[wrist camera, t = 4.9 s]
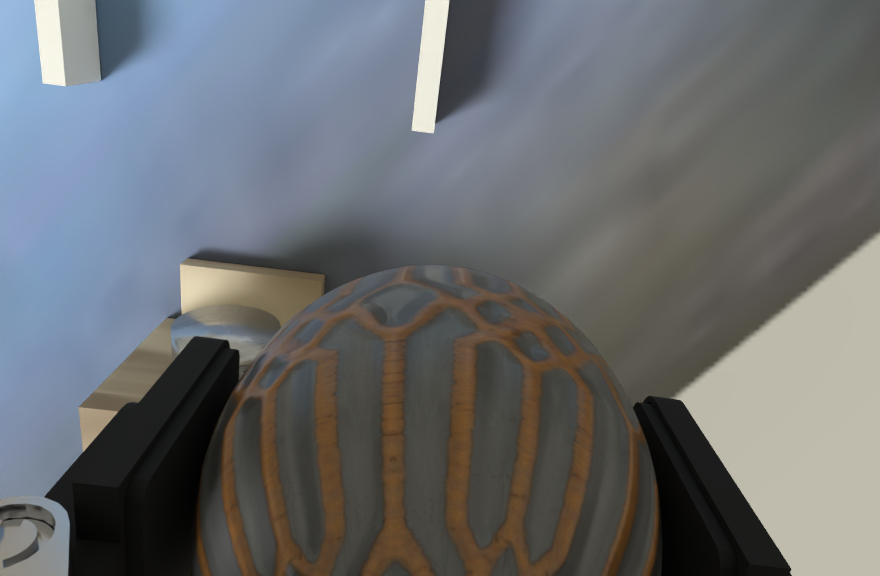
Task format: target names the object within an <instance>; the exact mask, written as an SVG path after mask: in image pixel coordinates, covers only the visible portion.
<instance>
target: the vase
mask: <svg viewBox="0 0 880 576" xmlns="http://www.w3.org/2000/svg"><path fill="white" fill-rule="evenodd" d="M661 570H662V523H661V509H660V501H659V493H658V486H657V481H656V475H655V471H654V467H653V463H652V459H651V455H650V451H649V448H648V444H647V441H646V438H645V436H644V433H643V431H642V428H641V426H640V423H639V421H638V419H637V416H636V414H635V411H634V409H633V407H632V405H631V403H630V401H629V399H628V397H627V395H626V394H625V392H624V390H623V388H622V387H621V385H620V383H619V381H618V380H617V378H616V377H615V375H614V373H613V372H612V370H611V368H610V367H609V366H608V364H607V363H606V362H605V360H604V359H603V357H602V356H601V355H600V353H599V352H598V351H597V349H596V348H595V347H594V345H593V344H592V343H591V341H590V340H589V339H588V338H587V337H586V336H585V335H584V334H583V333H582V331H581V330H579V329H578V328H577V327H576V326H575V325H574V324H573V323H572V322H571V321H570V320H569V319H567V318H566V317H565V316H564V315H562V314H561V313H560V312H559V311H557V310H556V309H555V308H554V307H552V306H551V305H550V304H548V303H547V302H545V301H544V300H542V299H541V298H540V297H538V296H537V295H535V294H533V293H531V292H529V291H528V290H526V289H524V288H522V287H520V286H518V285H515V284H513V283H511V282H509V281H506V280H504V279H501V278H499V277H496V276H493V275H490V274H487V273H484V272H480V271H477V270H472V269H467V268H462V267H455V266H445V265H415V266H405V267H399V268H393V269H388V270H384V271H380V272H376V273H373V274H370V275H367V276H364V277H361V278H358V279H355V280H353V281H351V282H348V283H346V284H344V285H341V286H339V287H338V288H336V289H334V290H332V291H330V292H328V293H326V294H325V295H323V296H322V297H320V298H318V299H317V300H315V301H314V302H313V303H311V304H310V305H308V306H307V307H305V308H304V309H303V310H301V311H300V312H299V313H297V314H296V315H295V316H293V317H292V318H291V319H290V320H289V321H288V322H287V323H285V324H284V325H283V326H282V327H281V328H280V329H279V330H278V331H277V332H276V334H275V335H274V336H273V337H272V338H271V339H270V340H269V341H268V343H267V344H266V345H265V346H264V347H263V349H262V350H261V351H260V352H259V353H258V355H257V356H256V357H255V359H254V360H253V361H252V362H251V364H250V365H249V367H248V368H247V370H246V371H245V373H244V374H243V376H242V377H241V379H240V381H239V382H238V384H237V385H236V387H235V388H234V390H233V391H232V393H231V395H230V397H229V399H228V401H227V403H226V405H225V407H224V409H223V411H222V413H221V414H220V416H219V418H218V420H217V423H216V425H215V428H214V430H213V432H212V435H211V438H210V441H209V444H208V447H207V450H206V454H205V457H204V460H203V464H202V467H201V472H200V477H199V482H198V487H197V492H196V497H195V503H194V512H193V522H192V533H191V576H661Z"/></svg>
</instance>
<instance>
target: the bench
mask: <svg viewBox="0 0 880 576" xmlns="http://www.w3.org/2000/svg"><path fill="white" fill-rule="evenodd" d="M180 275H181V309H182V314H184V313H186V312H189V311H191V310H194V309H198V308H202V307H207V306H214V305H242V306H249V307H254V308H258V309H261V310H264V311H266V312H268V313H270V314H272V315H273V316H275V317H276V318H277V319H278V320H279V322H280V325H281V327H282V326H283V325H284V324H285V323H287V322H288V321H289V320H290V319H291V318H292V317H293V316H295V315H296V314H297V313H299V312H300V311H301V310H303V309H304V308H305V307H307V306H308V305H310V304H311V303H313V302H314V301H315V300H317V299H318V298H320V297H322V296H323V295H324V284H325V275H323V274H315V273H307V272H298V271H290V270H282V269H273V268H265V267H256V266H248V265H240V264H231V263H223V262H214V261H206V260H198V259H189V258H187V259H186V260H185V261H184V262H182V263H181V264H180ZM174 320H175V319H172V318H166V319H165V320H164V321H163V322H162V323H161V324H160V325H159V326H158V327H157V328H156V329H155V330H154V331H153V332H152V333H151V334H150V335H149V336H148V337H147V338H146V339H145V340H144V341H143V342H142V343H141V344H140V345H139V346H138V347H137V348H136V349H135V350H134V351H133V353H132V354H131V355H130V356H129V357H128V358H127V359H126V360H125V361H124V362H123V363H122V364H121V365H120V366H119V367H118V368H117V369H116V370H115V371H114V372H113V373H112V374H111V375H110V376H109V377H108V378H107V379H106V380H105V381H104V382H103V383H102V384H101V385H100V386H99V387H98V388H97V389H96V390H95V391H94V392H93V393H92V394H91V395H90V396H89V397H88V398H87V399H86V400H85V401H84V402H83V403H82V404H81V405H80V406H79V416H80V425H81V435H82V445H83V452H84V451H85V449H86V448H87V447H88V446H89V445H90V444H91V443H92V441H93V440H94V439H95V438H96V437H97V436H98V435H99V433H100V432H101V431H102V430H103V429H104V428H105V426H106V425H107V424H108V423H109V422H110V421H111V420H112V418H113V417H114V416H115V415H116V414H117V413H118V411H119V410H120V409H121V408H122V407H123V406H124V405H126V404H127V403H130V402H137V403H139V402H140V400H141V399H142V398H143V397H144V396H145V394H146V393H147V392H148V391H149V390H150V388H151V387H152V386H153V385H154V384H155V382H156V381H157V380H158V379H159V378H160V376H161V375H162V374H163V373H164V372H165V370H166V369H167V368H168V367H169V366H170V364H171V363H172V362H173V361H174V359H173V357H172V352H171V325H172V323H173V322H174Z"/></svg>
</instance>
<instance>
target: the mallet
mask: <svg viewBox="0 0 880 576" xmlns="http://www.w3.org/2000/svg"><path fill="white" fill-rule="evenodd" d="M280 328H281V325H280V322H279V320H278V319H277V318H276V317H275V316H273V315H272V314H270V313H268V312H266V311H264V310H261V309H258V308H254V307H249V306H242V305H214V306H207V307H202V308H198V309H194V310H191V311H189V312H186V313H184V314H182V315H181V316H179V317H178V318H177V319H175V320H174V322H173V323H172V325H171V352H172V357H173V359H174V360H175V358H176V357H177V356H178V355H179V354H180V352H181V351H182V350H183V349H184V348H185V346H186V345H187V344H188V343H189V342H190V340H191V339H192V338H193V337H194V336H201V337H208V338H216V339H223V340H228V341H229V344H230V349H237V350H239V354H240V365H239V381H240V379H241V377H242V376H243V374H244V373H245V371H246V370H247V368H248V367H249V365H250V364H251V362H252V361H253V360H254V359H255V357H256V356H257V355H258V353H259V352H260V351H261V350H262V349H263V347H264V346H265V345H266V344H267V343H268V341H269V340H270V339H271V338H272V337H273V336H274V335H275V334H276V332H277V331H278V330H279V329H280Z"/></svg>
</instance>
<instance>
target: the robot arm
mask: <svg viewBox="0 0 880 576" xmlns="http://www.w3.org/2000/svg"><path fill="white" fill-rule="evenodd" d="M239 365H240V354H239V350H237V349H230V344H229V341H228V340H223V339H216V338H208V337H201V336H194V337H193V338H192V339H191V340H190V342H189V343H188V344H187V345H186V346H185V348H184V349H183V350H182V351H181V352H180V354H179V355H178V356H177V357H176V358H175V360H174V361H173V362H172V363H171V364H170V366H169V367H168V368H167V369H166V370H165V372H164V373H163V374H162V375H161V376H160V378H159V379H158V380H157V381H156V382H155V384H154V385H153V386H152V387H151V388H150V390H149V391H148V392H147V393H146V394H145V396H144V397H143V398H142V399H141V400H140V402H139V403H137V402H130V403H127V404H126V405H124V406H123V407H122V408H121V409H120V410H119V411H118V413H117V414H116V415H115V416H114V417H113V418H112V420H111V421H110V422H109V423H108V424H107V425H106V426H105V428H104V429H103V430H102V431H101V432H100V433H99V435H98V436H97V437H96V438H95V439H94V440H93V441H92V443H91V444H90V445H89V446H88V447H87V448H86V449H85V451H84V452H83V453H82V454H81V455H80V456H79V458H78V459H77V460H76V461H75V462H74V463H73V464H72V466H71V467H70V468H69V469H68V470H67V471H66V473H65V474H64V475H63V476H62V477H61V478H60V479H59V481H58V482H57V483H56V484H55V485H54V486H53V487H52V489H51V490H50V491H49V492H48V493H47V494H46V496H45V497H36V496H16V497H7V498H3V499H0V576H191V533H192V522H193V512H194V503H195V497H196V492H197V487H198V482H199V477H200V472H201V467H202V464H203V460H204V457H205V454H206V450H207V447H208V444H209V441H210V438H211V435H212V432H213V430H214V428H215V425H216V423H217V420H218V418H219V416H220V414H221V413H222V411H223V409H224V407H225V405H226V403H227V401H228V399H229V397H230V395H231V393H232V391H233V390H234V388H235V387H236V385H237V384H238V382H239ZM633 409H634V411H635V414H636V416H637V419H638V421H639V423H640V426H641V428H642V431H643V433H644V436H645V438H646V441H647V444H648V448H649V451H650V455H651V459H652V463H653V467H654V471H655V475H656V481H657V486H658V493H659V501H660V509H661V523H662V570H661V576H792V575H791V574H790V571H791V568H790V566H789V565H788V563H787V562H786V560H785V559H784V557H783V556H782V554H781V552H780V551H779V549H778V548H777V546H776V545H775V543H774V542H773V540H772V539H771V537H770V536H769V534H768V532H767V531H766V529H765V528H764V526H763V525H762V523H761V522H760V520H759V519H758V517H757V516H756V514H755V513H754V511H753V509H752V508H751V506H750V505H749V503H748V502H747V500H746V499H745V497H744V496H743V494H742V493H741V491H740V489H739V488H738V487H737V485H736V483H735V482H734V480H733V479H732V477H731V476H730V474H729V473H728V471H727V470H726V468H725V467H724V465H723V463H722V462H721V460H720V459H719V457H718V456H717V454H716V453H715V451H714V450H713V448H712V446H711V445H710V444H709V442H708V440H707V439H706V437H705V436H704V434H703V433H702V431H701V430H700V428H699V426H698V425H697V424H696V422H695V420H694V419H693V417H692V416H691V414H690V413H689V411H688V410H687V408H686V407H685V405H684V404H683V402H682V401H680V400H675V399H668V398H660V397H653V396H648V397H647V398H646V399H645V400H644V402H643V403H639V402H637V403H636V404H635V405H634V407H633Z"/></svg>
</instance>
